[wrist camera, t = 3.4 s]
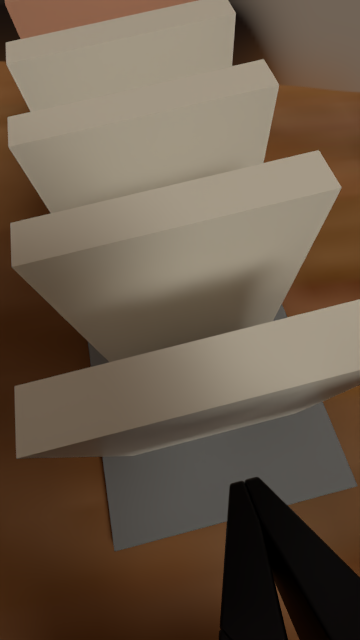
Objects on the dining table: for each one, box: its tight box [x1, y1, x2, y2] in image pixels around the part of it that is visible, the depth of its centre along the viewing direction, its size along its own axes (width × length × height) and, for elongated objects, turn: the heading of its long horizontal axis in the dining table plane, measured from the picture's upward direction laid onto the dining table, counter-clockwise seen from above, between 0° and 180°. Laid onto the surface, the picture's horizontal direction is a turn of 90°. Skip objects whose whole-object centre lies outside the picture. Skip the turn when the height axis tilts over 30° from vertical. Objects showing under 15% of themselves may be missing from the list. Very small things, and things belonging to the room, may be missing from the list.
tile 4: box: [6, 0, 236, 112], centre depth 19 cm, size 2×10×12 cm, turn 103°
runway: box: [88, 304, 357, 551], centre depth 23 cm, size 32×13×1 cm, turn 14°
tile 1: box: [14, 299, 360, 459], centre depth 13 cm, size 2×10×12 cm, turn 104°
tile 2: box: [10, 150, 341, 362], centre depth 15 cm, size 2×10×12 cm, turn 104°
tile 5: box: [5, 0, 198, 39], centre depth 21 cm, size 2×10×12 cm, turn 103°
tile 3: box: [8, 60, 279, 213], centre depth 17 cm, size 2×10×12 cm, turn 103°
